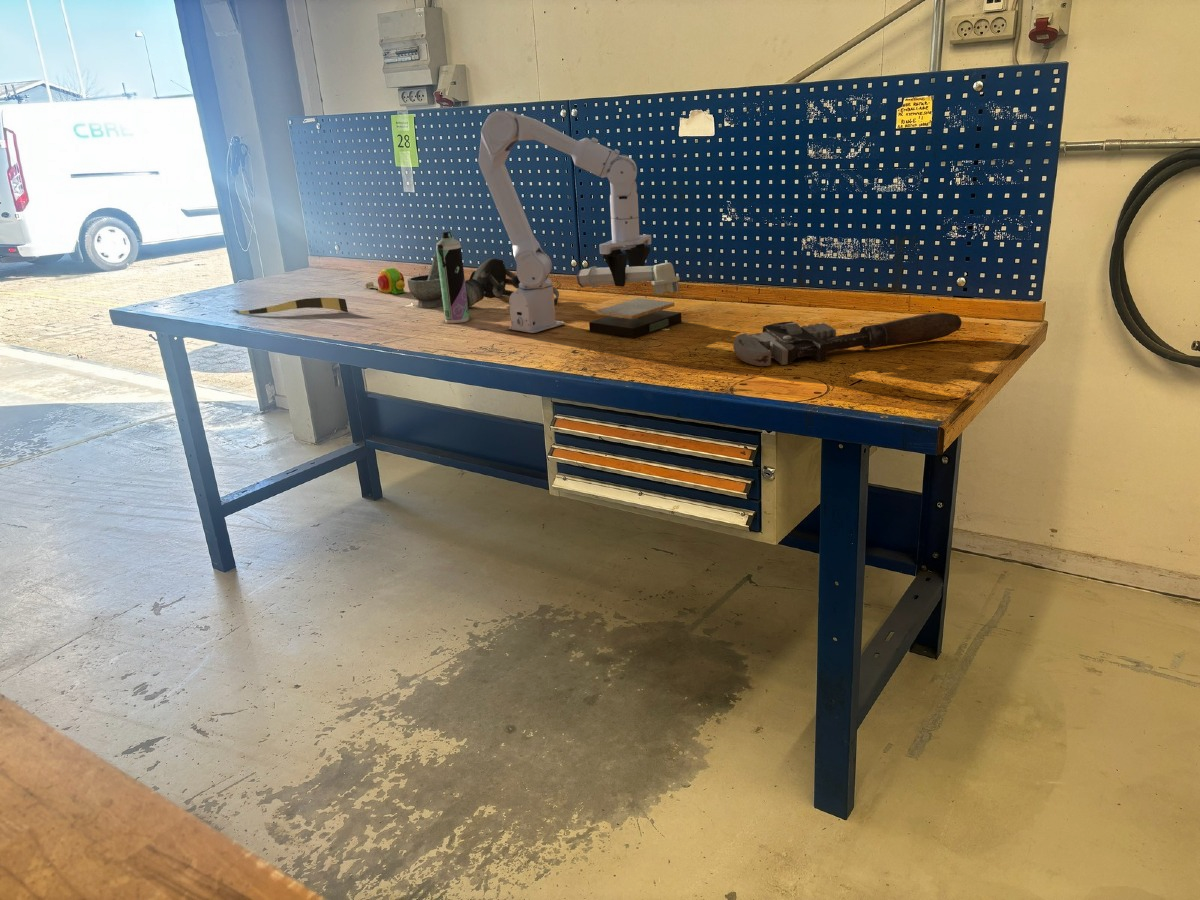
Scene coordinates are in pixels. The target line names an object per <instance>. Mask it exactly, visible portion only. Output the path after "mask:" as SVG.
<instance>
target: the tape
mask: <svg viewBox="0 0 1200 900" xmlns="http://www.w3.org/2000/svg"><path fill="white" fill-rule="evenodd" d="M296 309H297V310H298V309H326V310H327V309H328V310H336V311H340V312H345V313H349V310H348V305H347V301H346V298H338V297H310V298H301V299H297V300H291V301H287V302H283V303H279V304H275V305H272V306H265V307H261V308H255V309H248V310H235V309H231V310H232V311H233V312H236V313H237V314H243V315H244V314H245V315H257V314H258V315H259V314H269V313H277V312H278V313H279V312H284V311H290V310H296Z"/></svg>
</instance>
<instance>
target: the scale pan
mask: <svg viewBox="0 0 1200 900" xmlns="http://www.w3.org/2000/svg"><path fill="white" fill-rule="evenodd" d="M672 307H675V302H673V301H666V300H658V299H648V298H639V297H638V298H634V299H631V300H630V299H629V300H627V301H624V302H621V303H616V304H614V305H610V306H607V307H603V308H600V309H596V310H594V315H596V316H602V317H603V316H604V317H608V316H611V317H618V318H625V319H635V318H638V317H641V316H644V315H648V314H651V313H654V312H657V311H660V310H666V309H669V308H672Z"/></svg>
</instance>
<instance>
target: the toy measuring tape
mask: <svg viewBox="0 0 1200 900" xmlns="http://www.w3.org/2000/svg"><path fill="white" fill-rule="evenodd" d="M364 285H365V287H366V289H369V288H371V289H376V290H377V291H378V292H381V293H384V294H392V295H393V294H394V295H399V294H404V293H405V290H404V288H405V286H406V283H405V277H404V275H403V273H402V272H400V271H399V270H398V269H397V268H395V267H388V268H384V269H382V270H380V271H379V274H378V277H377V285H378V286H375V284H374V282H373V281H370V282H369V281H368V282H365V284H364Z"/></svg>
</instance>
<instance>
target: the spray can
mask: <svg viewBox="0 0 1200 900" xmlns="http://www.w3.org/2000/svg"><path fill="white" fill-rule="evenodd" d="M435 245H436V247H435V251H436V254H437V259H438V267H439V275H440V283H441V291H442V301H443V305H442V308H443V313H444V321H445V323H447V324H462V323H466V322H469V321H470V313H469V308H468V303H467V295H466V286H465V281H466V279H465V270H464V269H465V268H464V261H463V252H462V245H461V241H459V240H457V239H455V237H454V236H453V235H452V233H451V231H445V232H442V236H441V238H440V240H439V241H438V242H437V243H436V244H435Z"/></svg>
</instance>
